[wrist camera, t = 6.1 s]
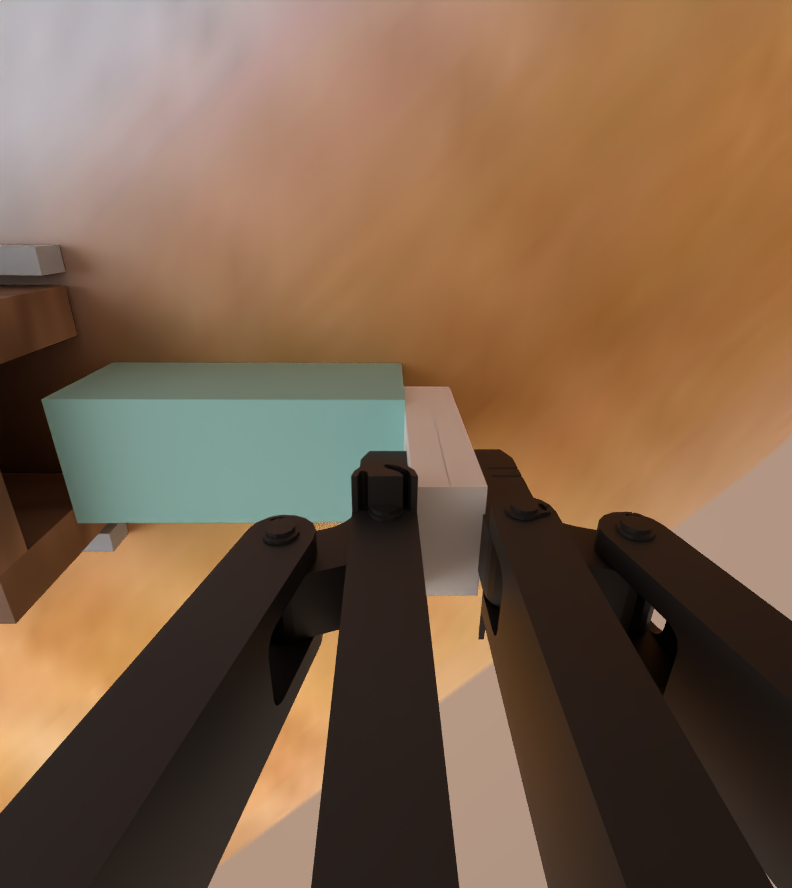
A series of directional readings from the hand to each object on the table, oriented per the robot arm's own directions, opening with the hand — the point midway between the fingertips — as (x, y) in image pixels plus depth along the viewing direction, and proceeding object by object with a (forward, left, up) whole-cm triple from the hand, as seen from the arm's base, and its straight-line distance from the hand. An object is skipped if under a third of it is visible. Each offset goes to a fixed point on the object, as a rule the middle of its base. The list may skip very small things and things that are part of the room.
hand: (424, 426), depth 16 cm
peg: (+1, -6, -2) cm, 6 cm away
